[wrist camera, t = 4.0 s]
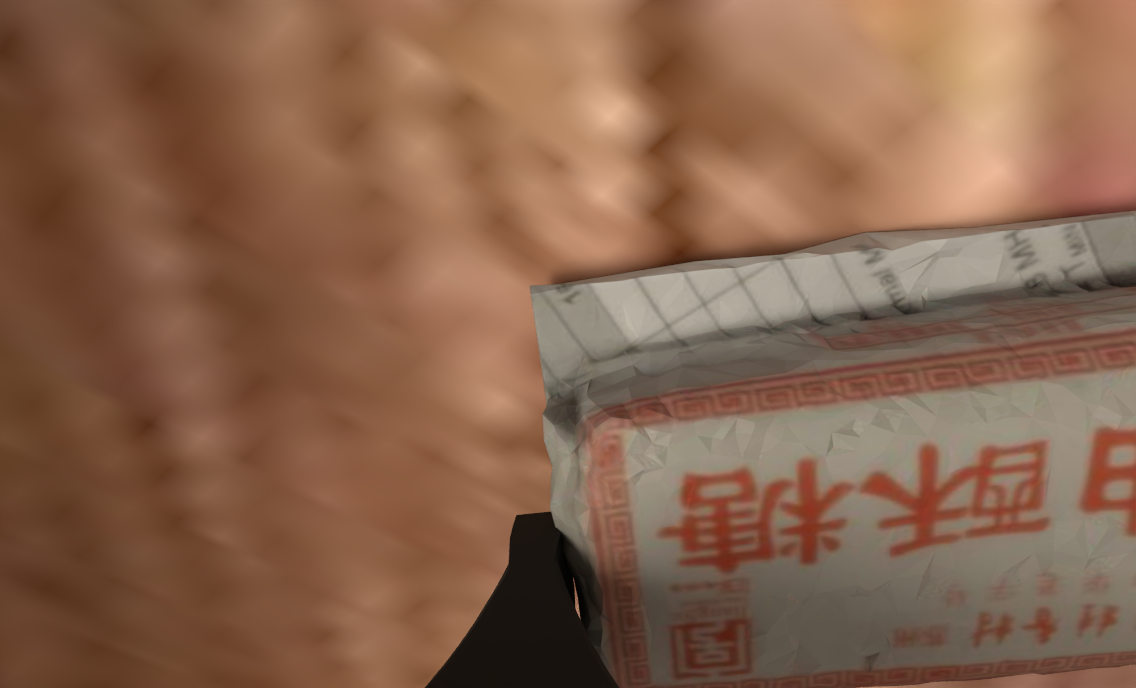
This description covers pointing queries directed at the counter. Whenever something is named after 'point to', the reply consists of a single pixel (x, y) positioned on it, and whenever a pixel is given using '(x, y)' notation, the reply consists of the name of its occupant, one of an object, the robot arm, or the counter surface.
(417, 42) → the counter surface
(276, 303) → the counter surface
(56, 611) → the counter surface
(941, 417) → the packaged product
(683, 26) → the counter surface
